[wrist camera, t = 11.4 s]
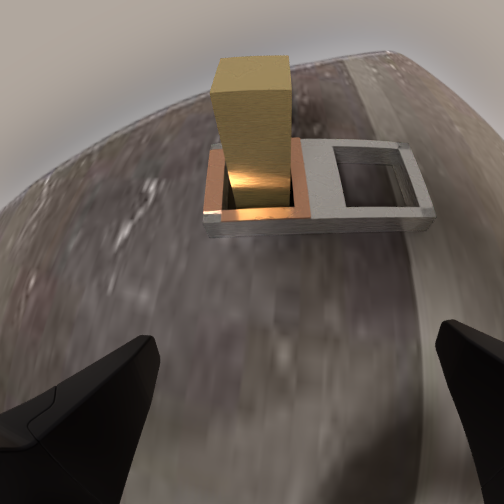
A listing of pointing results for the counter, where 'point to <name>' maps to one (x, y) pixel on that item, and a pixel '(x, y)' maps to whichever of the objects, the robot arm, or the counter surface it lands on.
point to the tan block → (255, 127)
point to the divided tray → (321, 193)
